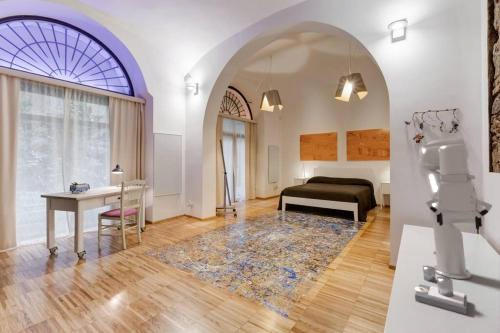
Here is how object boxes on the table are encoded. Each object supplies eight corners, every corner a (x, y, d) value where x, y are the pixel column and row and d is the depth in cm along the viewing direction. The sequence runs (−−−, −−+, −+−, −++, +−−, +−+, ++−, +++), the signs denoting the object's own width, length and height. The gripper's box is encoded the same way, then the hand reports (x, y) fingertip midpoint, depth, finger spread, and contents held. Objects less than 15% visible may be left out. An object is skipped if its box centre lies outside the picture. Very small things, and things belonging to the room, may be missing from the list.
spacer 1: (424, 276, 97) (423, 265, 97) (436, 279, 94) (435, 267, 95) (423, 280, 94) (422, 268, 94) (435, 282, 91) (434, 270, 92)
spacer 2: (439, 289, 81) (437, 275, 81) (454, 293, 78) (452, 278, 78) (437, 294, 78) (436, 279, 78) (453, 298, 75) (451, 282, 75)
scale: (417, 288, 87) (416, 281, 88) (467, 301, 78) (466, 293, 78) (412, 299, 80) (411, 291, 81) (466, 314, 71) (465, 305, 71)
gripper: (489, 177, 77) (494, 227, 77) (426, 178, 90) (430, 221, 90) (489, 179, 72) (494, 233, 72) (422, 180, 85) (426, 225, 85)
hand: (458, 226), depth 81 cm, fingers open, 9 cm apart
